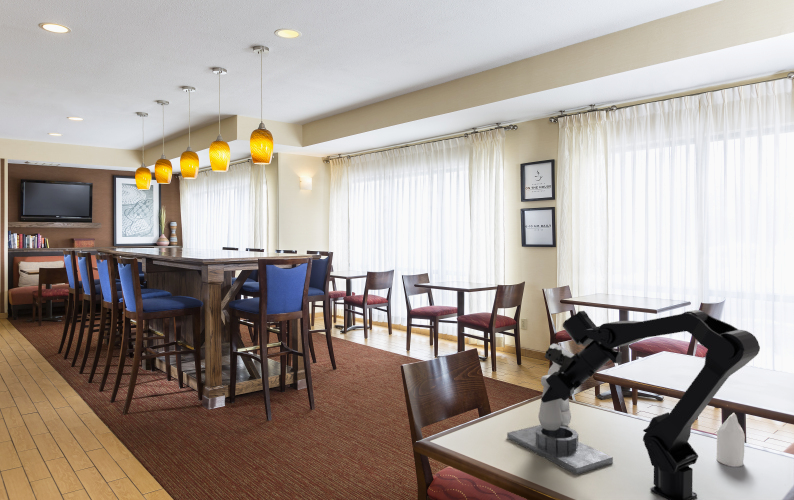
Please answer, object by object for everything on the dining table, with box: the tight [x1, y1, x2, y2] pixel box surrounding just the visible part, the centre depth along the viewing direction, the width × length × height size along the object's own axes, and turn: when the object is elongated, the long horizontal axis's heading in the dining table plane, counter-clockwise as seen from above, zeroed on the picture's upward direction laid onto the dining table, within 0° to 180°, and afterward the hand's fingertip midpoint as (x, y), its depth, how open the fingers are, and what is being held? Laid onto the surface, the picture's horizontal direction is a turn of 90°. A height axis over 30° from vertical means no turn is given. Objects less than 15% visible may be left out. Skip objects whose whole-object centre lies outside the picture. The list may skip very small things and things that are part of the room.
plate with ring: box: [506, 424, 614, 475], centre depth 130 cm, size 24×12×4 cm, turn 28°
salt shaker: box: [538, 374, 562, 430], centre depth 129 cm, size 6×6×13 cm
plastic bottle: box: [547, 361, 572, 427], centre depth 146 cm, size 6×7×20 cm
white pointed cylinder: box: [716, 412, 746, 468], centre depth 122 cm, size 6×12×6 cm
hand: (544, 398), depth 130 cm, fingers closed on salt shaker, 3 cm apart
